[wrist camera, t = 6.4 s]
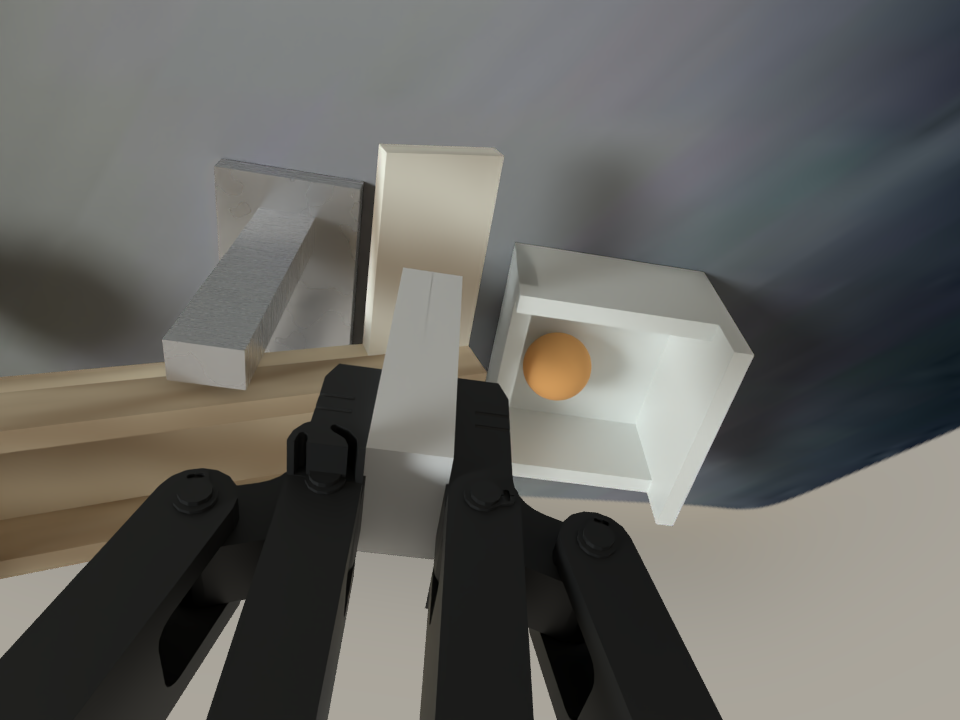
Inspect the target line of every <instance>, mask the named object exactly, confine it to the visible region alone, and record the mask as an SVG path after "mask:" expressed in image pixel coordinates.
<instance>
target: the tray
mask: <svg viewBox="0 0 960 720" xmlns="http://www.w3.org/2000/svg"><path fill="white" fill-rule="evenodd" d="M554 332H560V333H566V334H569V335H572V336H574V337H575V338H577V339H578V340H579V341H581V342H582V343H583V345H584V346H585V347H586V349H587V350H588V352H589V355H590V358H591V374H590V378H589V380H588V382H587V384H586V386H585V387H584V388H583V389H582V391H580V392H579V393H578V394H577V395H575V396H573V397H571V398H569V399H566V400H557V401H556V400H549V399H546V398H543V397H541V396H539V395H538V394H536V393H535V392H534V391H533V390H532V389H531V388H530V387H529V385H528V384H527V382H526V380H525V377H524V373H523V360H524V356H525V353H526V351H527V349H528V348H529V346H530V345H531V344H532V343H533V342H534V341H535V340H536V339H538V338H539V337H541V336H543V335H545V334H548V333H554ZM753 357H754V354H753V352H752V350H751V349H750V347H749V345H748V344H747V342H746V341H745V339H744V337H743V336H742V334H741V332H740V331H739V329H738V327H737V326H736V324H735V322H734V321H733V319H732V317H731V316H730V314H729V312H728V311H727V309H726V308H725V306H724V304H723V303H722V301H721V299H720V298H719V296H718V294H717V293H716V291H715V289H714V288H713V286H712V284H711V283H710V281H709V279H708V278H707V276H706V275H705V273H704V272H701V271H694V270H688V269H682V268H675V267H669V266H663V265H656V264H650V263H643V262H637V261H631V260H624V259H618V258H611V257H605V256H599V255H592V254H586V253H579V252H573V251H567V250H560V249H554V248H548V247H541V246H535V245H528V244H522V243H516V242H515V245H514V250H513V255H512V259H511V264H510V269H509V273H508V278H507V283H506V288H505V292H504V297H503V302H502V306H501V311H500V316H499V320H498V325H497V330H496V335H495V339H494V344H493V349H492V353H491V358H490V363H489V368H488V372H487V377H486V382H492V383H499V385H500V386H501V388H502V390H503V391H504V393H505V394H506V396H507V398H508V399H509V419H510V437H511V456H512V475H513V476H518V477H526V478H534V479H543V480H551V481H559V482H567V483H575V484H583V485H591V486H599V487H607V488H615V489H623V490H631V491H639V492H647V494H648V497H649V501H650V504H651V508H652V512H653V515H654V519H655V522H656V524H660V525H668V526H673V524H674V522H675V520H676V518H677V516H678V514H679V512H680V510H681V508H682V506H683V503H684V501H685V499H686V497H687V495H688V493H689V491H690V489H691V487H692V485H693V483H694V480H695V478H696V476H697V474H698V472H699V470H700V468H701V466H702V464H703V462H704V459H705V457H706V455H707V453H708V451H709V449H710V447H711V445H712V443H713V441H714V439H715V436H716V434H717V432H718V430H719V428H720V426H721V424H722V422H723V420H724V418H725V415H726V413H727V411H728V409H729V407H730V405H731V403H732V401H733V399H734V397H735V395H736V392H737V390H738V388H739V386H740V384H741V382H742V380H743V378H744V376H745V374H746V372H747V369H748V367H749V365H750V363H751V361H752V359H753Z"/></svg>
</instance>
